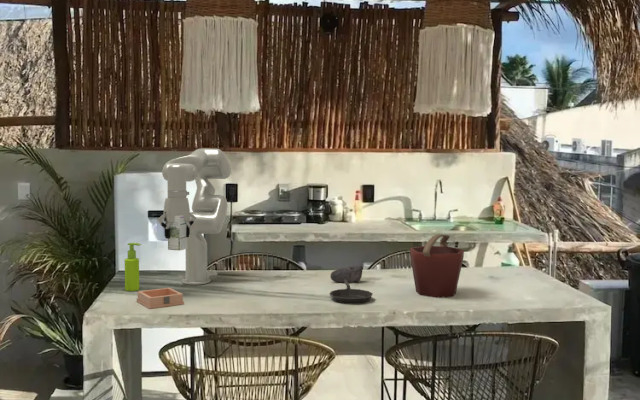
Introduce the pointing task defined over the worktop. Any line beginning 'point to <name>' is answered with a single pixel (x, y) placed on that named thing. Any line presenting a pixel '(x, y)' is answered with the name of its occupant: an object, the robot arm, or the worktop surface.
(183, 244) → the syrup box
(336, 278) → the perforated stone tool
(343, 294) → the frying pan
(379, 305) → the worktop surface
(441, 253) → the bucket
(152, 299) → the pink square tray
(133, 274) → the soap dispenser
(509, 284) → the worktop surface
